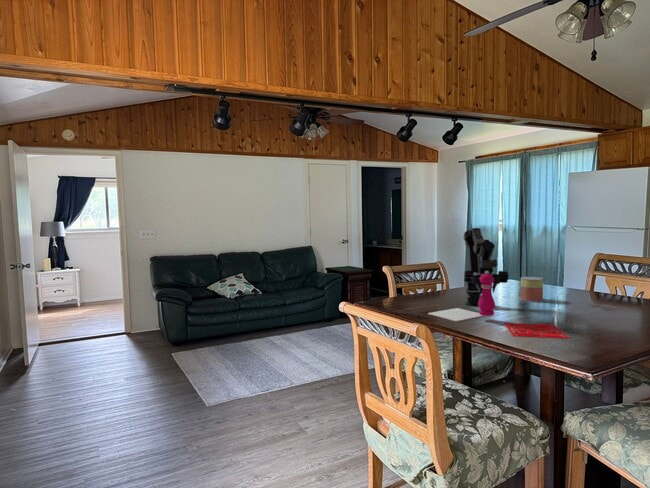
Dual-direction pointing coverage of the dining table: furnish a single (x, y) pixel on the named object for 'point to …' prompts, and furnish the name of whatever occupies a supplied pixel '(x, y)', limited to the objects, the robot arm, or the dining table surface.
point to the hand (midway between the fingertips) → (487, 291)
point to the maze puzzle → (530, 333)
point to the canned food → (532, 289)
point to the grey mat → (456, 314)
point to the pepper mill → (486, 295)
